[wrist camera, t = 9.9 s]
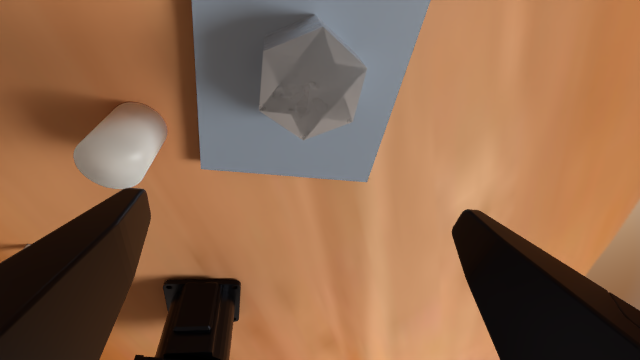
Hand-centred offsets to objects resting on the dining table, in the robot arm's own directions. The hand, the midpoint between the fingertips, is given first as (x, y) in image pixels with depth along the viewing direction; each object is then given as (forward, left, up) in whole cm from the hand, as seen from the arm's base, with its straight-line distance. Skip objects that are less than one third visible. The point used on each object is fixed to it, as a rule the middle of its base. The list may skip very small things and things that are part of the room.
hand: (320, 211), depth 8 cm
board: (+1, 0, -11) cm, 11 cm away
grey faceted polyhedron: (+1, 0, -10) cm, 10 cm away
